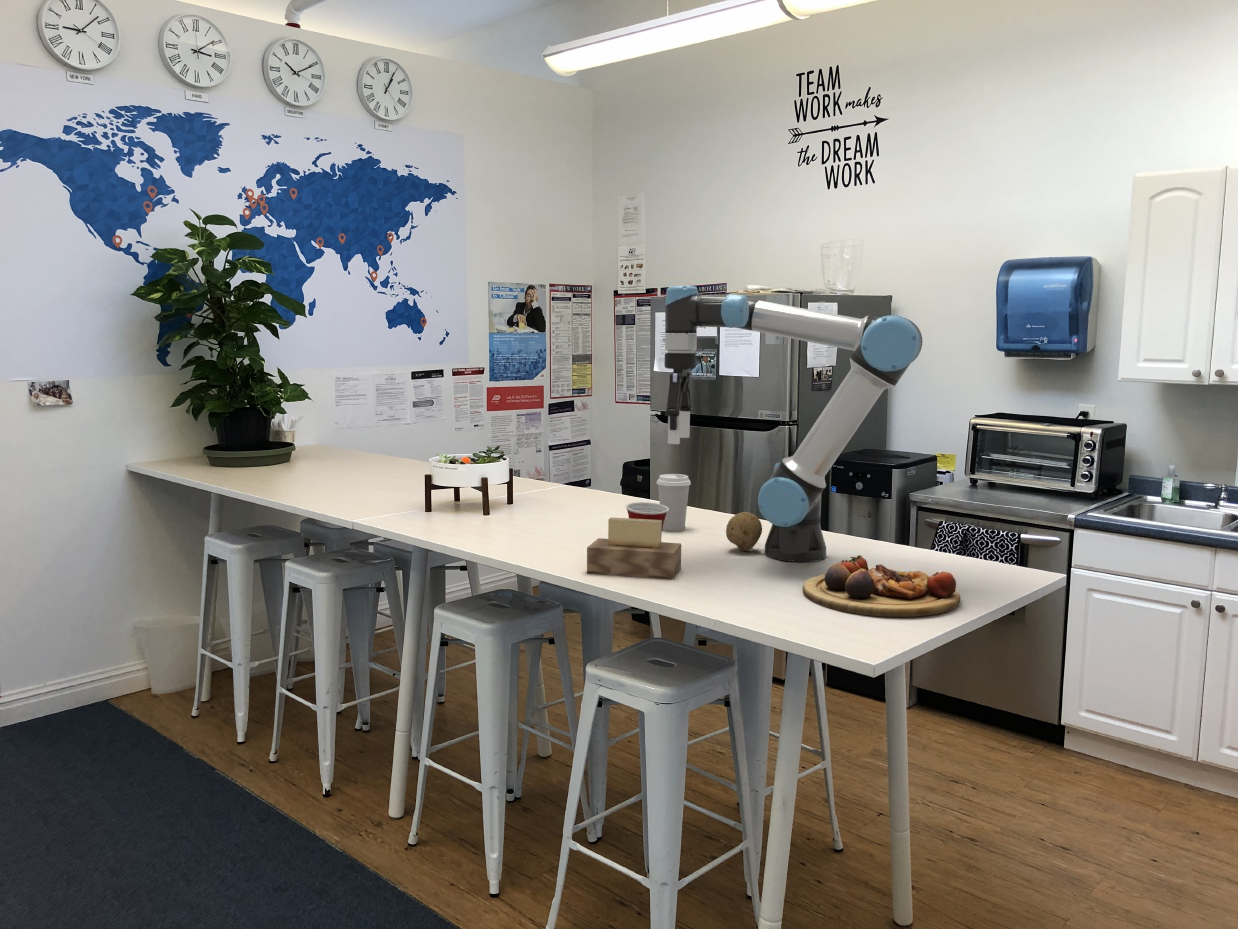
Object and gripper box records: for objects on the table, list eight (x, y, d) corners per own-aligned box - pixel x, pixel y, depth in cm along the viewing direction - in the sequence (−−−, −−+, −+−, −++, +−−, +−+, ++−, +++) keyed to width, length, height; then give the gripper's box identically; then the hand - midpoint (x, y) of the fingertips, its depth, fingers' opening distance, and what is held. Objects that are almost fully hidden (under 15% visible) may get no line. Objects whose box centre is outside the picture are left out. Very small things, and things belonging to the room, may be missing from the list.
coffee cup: (687, 533, 262) (688, 479, 260) (653, 531, 264) (653, 478, 262) (692, 526, 271) (693, 474, 269) (658, 524, 273) (659, 472, 271)
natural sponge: (746, 556, 236) (747, 517, 235) (718, 550, 242) (719, 512, 241) (768, 551, 242) (769, 512, 241) (739, 545, 249) (740, 507, 247)
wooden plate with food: (986, 598, 202) (988, 560, 202) (912, 629, 180) (914, 586, 179) (853, 573, 225) (854, 539, 224) (773, 598, 202) (773, 560, 201)
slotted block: (680, 568, 224) (681, 543, 223) (673, 579, 214) (673, 553, 213) (598, 562, 229) (598, 538, 228) (586, 573, 219) (586, 547, 218)
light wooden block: (661, 567, 221) (661, 520, 220) (659, 569, 219) (659, 522, 217) (610, 563, 224) (610, 517, 222) (608, 566, 222) (608, 519, 220)
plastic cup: (644, 560, 231) (645, 511, 230) (616, 552, 240) (616, 505, 238) (677, 554, 238) (678, 506, 237) (648, 546, 247) (649, 500, 245)
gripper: (674, 350, 241) (673, 434, 244) (654, 352, 217) (653, 446, 220) (704, 351, 239) (702, 435, 242) (687, 353, 215) (685, 447, 218)
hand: (678, 440), depth 231 cm, fingers open, 13 cm apart
